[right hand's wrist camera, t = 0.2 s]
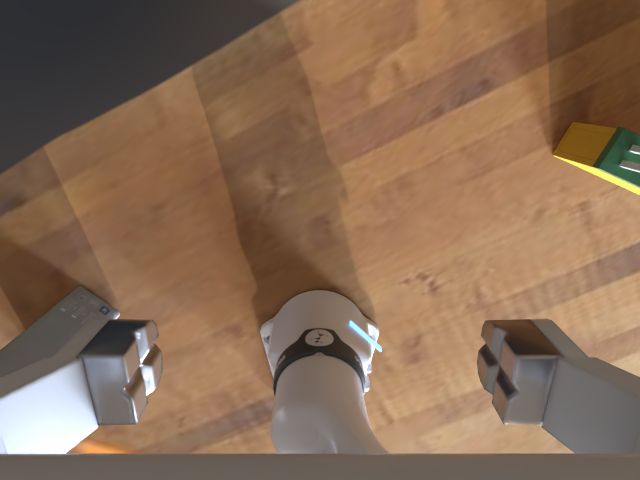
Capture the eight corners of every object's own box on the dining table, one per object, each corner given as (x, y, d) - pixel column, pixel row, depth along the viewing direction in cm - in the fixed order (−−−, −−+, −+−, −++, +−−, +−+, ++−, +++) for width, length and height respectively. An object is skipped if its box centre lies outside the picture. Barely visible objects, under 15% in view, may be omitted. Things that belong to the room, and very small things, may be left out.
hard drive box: (79, 282, 63) (-22, 366, 44) (122, 311, 65) (42, 404, 46) (30, 346, 67) (-82, 447, 48) (72, 372, 69) (-21, 479, 50)
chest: (551, 154, 56) (595, 168, 47) (572, 121, 55) (621, 128, 46) (647, 198, 58) (706, 218, 49) (669, 167, 57) (734, 182, 48)
